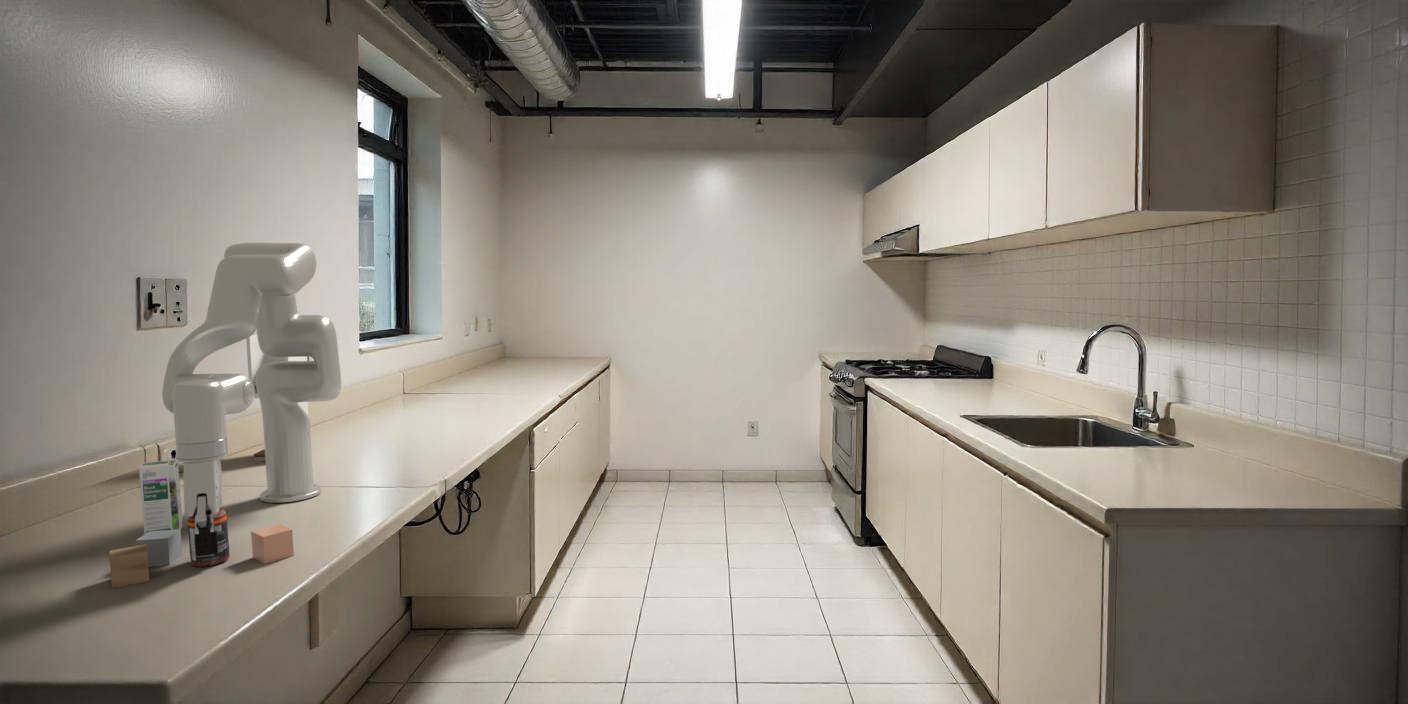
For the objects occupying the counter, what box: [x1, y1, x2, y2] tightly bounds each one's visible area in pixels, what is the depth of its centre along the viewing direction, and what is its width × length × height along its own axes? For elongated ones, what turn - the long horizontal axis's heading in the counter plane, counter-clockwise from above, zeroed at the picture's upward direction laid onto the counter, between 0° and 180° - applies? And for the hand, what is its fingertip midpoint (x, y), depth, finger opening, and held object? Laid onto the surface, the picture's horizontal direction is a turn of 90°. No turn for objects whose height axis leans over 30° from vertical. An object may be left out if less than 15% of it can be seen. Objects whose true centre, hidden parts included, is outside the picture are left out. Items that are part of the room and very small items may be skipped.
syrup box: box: [138, 458, 183, 535], centre depth 151 cm, size 6×6×14 cm
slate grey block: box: [135, 529, 183, 568], centre depth 137 cm, size 5×5×5 cm
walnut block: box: [109, 544, 150, 589], centre depth 128 cm, size 5×5×5 cm
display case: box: [245, 334, 309, 463], centre depth 217 cm, size 11×11×35 cm
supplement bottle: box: [186, 507, 230, 567], centre depth 136 cm, size 6×6×11 cm
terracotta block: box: [250, 524, 295, 565], centre depth 139 cm, size 5×5×5 cm
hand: (209, 547), depth 136 cm, fingers closed on supplement bottle, 6 cm apart
